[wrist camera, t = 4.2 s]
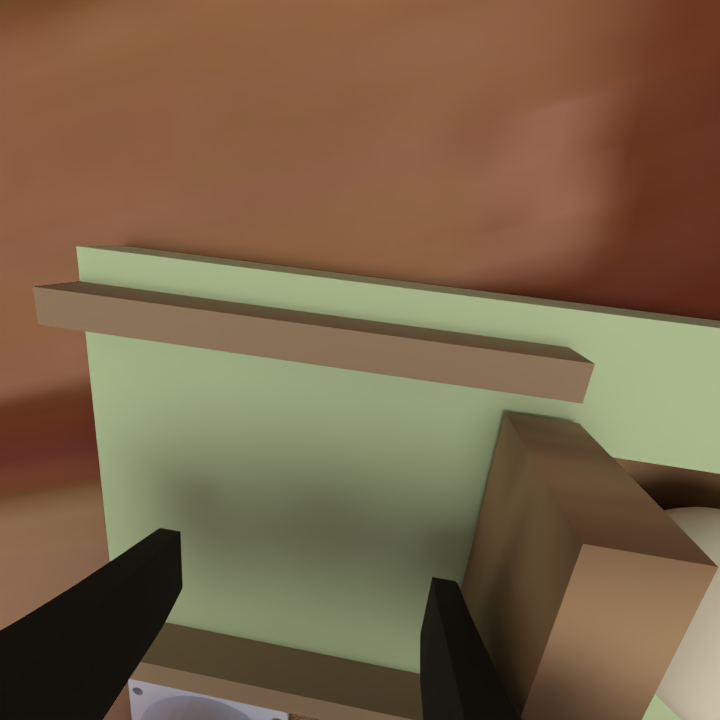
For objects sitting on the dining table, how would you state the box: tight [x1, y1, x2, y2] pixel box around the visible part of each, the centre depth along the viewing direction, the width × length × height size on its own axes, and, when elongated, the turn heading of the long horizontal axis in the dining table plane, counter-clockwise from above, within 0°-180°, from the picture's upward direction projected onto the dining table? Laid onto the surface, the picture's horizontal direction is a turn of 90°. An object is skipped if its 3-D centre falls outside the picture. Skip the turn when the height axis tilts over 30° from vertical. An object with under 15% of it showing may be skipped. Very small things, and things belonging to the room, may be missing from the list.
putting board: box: [33, 246, 720, 720], centre depth 13 cm, size 16×26×4 cm, turn 83°
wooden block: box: [461, 412, 718, 720], centre depth 10 cm, size 10×2×5 cm, turn 173°
